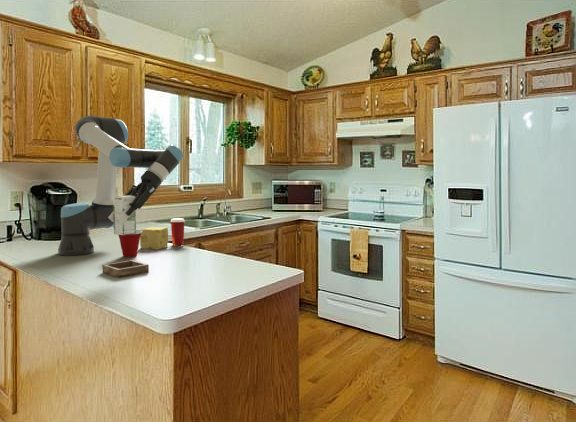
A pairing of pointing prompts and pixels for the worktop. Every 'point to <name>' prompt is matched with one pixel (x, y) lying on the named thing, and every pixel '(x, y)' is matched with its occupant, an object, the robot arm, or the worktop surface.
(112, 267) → the tray
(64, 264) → the worktop surface
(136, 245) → the plastic cup
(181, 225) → the paper cup
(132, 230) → the syrup box
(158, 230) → the cheese
